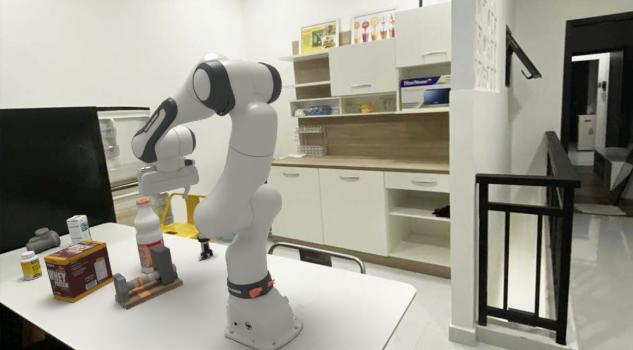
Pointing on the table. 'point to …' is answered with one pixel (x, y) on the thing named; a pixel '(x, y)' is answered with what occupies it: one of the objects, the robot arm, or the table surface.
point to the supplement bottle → (30, 265)
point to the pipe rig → (142, 288)
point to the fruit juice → (147, 233)
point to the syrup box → (79, 229)
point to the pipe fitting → (43, 240)
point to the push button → (204, 247)
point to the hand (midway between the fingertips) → (172, 201)
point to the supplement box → (79, 270)
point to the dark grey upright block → (162, 263)
